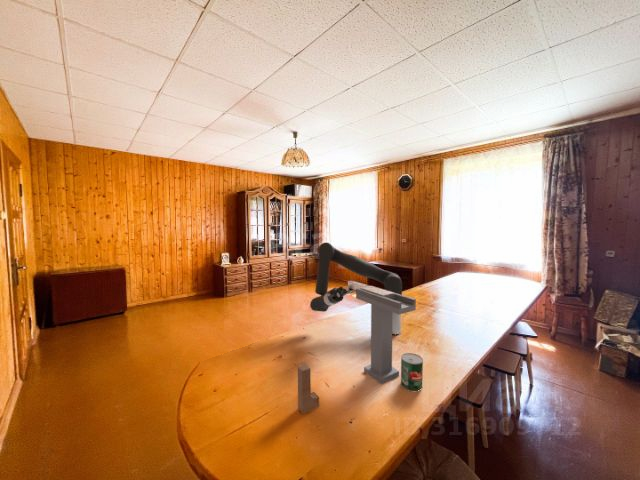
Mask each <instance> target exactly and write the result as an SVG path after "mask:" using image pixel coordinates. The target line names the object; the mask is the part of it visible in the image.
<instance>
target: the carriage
mask: <svg viewBox="0 0 640 480" xmlns="http://www.w3.org/2000/svg"><path fill="white" fill-rule="evenodd" d="M347 287H348V288H351V289H354V290H356V289H357V288H359V289H362V290H365V291H368V292H371V293H374V294H377V295H380V296H383V297H386V298H389V299H392V300H393V299H395V293H393V292H390V291H387V290H385V289H384V290H383V288H380V287H377V288H376V286H373V285H369V284H365V283H362V282H357V281H355V280H348V281H347Z"/></svg>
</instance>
